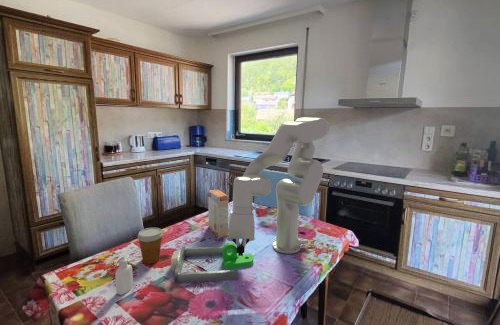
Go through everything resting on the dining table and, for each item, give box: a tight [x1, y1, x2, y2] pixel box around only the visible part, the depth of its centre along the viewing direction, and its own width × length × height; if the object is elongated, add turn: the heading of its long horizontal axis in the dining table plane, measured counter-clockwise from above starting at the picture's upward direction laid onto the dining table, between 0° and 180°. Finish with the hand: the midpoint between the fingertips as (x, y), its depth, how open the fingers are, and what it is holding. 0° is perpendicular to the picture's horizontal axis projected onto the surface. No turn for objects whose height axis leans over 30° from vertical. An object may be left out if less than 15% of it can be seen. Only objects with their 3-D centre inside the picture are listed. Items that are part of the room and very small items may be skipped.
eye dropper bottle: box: [114, 255, 134, 296], centre depth 87 cm, size 4×6×12 cm
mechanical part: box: [221, 242, 254, 270], centre depth 105 cm, size 12×6×8 cm, turn 107°
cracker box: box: [207, 188, 229, 239], centre depth 133 cm, size 14×6×21 cm, turn 27°
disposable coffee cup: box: [137, 227, 164, 265], centre depth 106 cm, size 10×10×12 cm
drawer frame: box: [170, 245, 239, 284], centre depth 102 cm, size 24×20×5 cm
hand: (240, 254), depth 103 cm, fingers closed
